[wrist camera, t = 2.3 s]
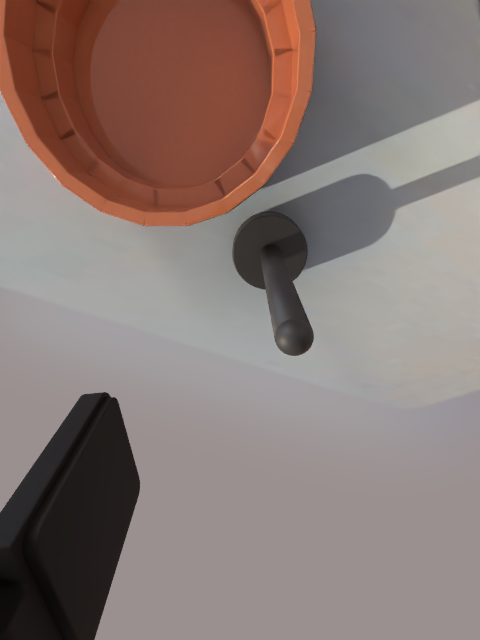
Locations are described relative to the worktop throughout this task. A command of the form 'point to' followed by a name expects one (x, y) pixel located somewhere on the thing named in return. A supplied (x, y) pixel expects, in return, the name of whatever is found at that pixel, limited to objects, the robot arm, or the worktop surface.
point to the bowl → (158, 98)
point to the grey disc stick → (276, 274)
